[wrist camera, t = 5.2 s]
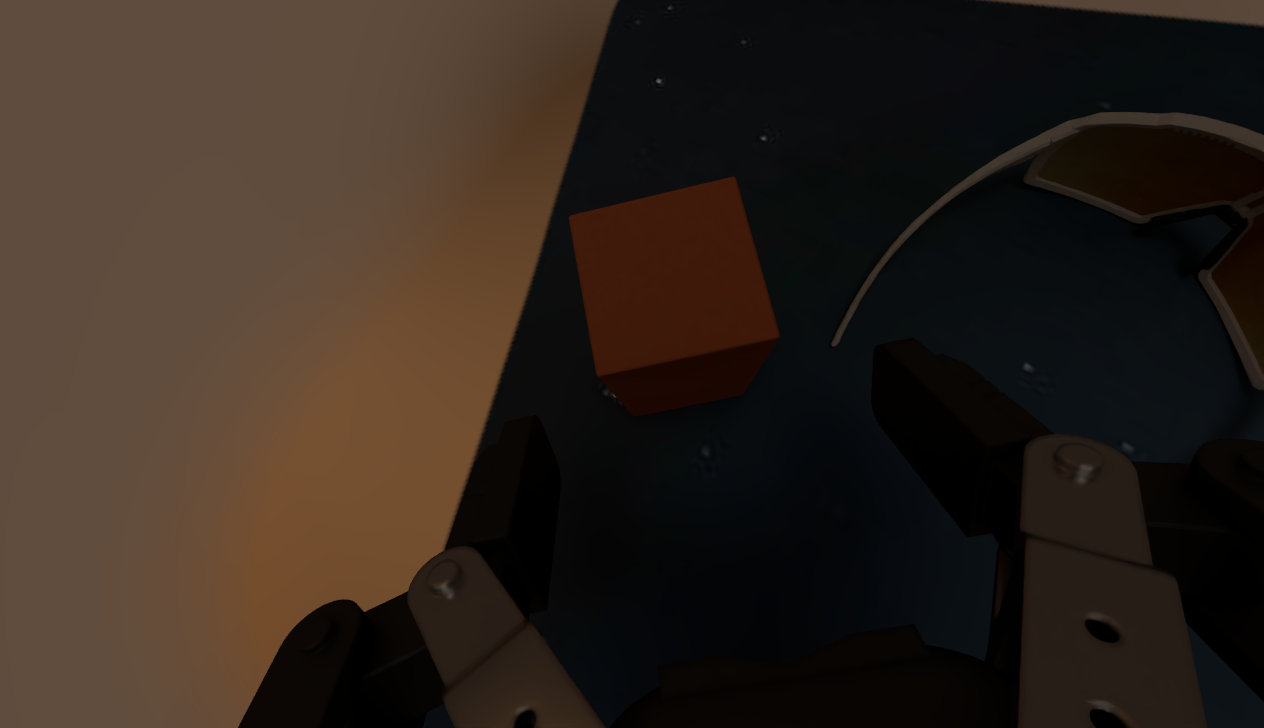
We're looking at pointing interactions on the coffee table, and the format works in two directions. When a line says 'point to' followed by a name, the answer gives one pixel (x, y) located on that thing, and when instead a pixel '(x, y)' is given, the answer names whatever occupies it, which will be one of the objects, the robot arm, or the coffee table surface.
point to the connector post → (674, 297)
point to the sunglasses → (1155, 198)
